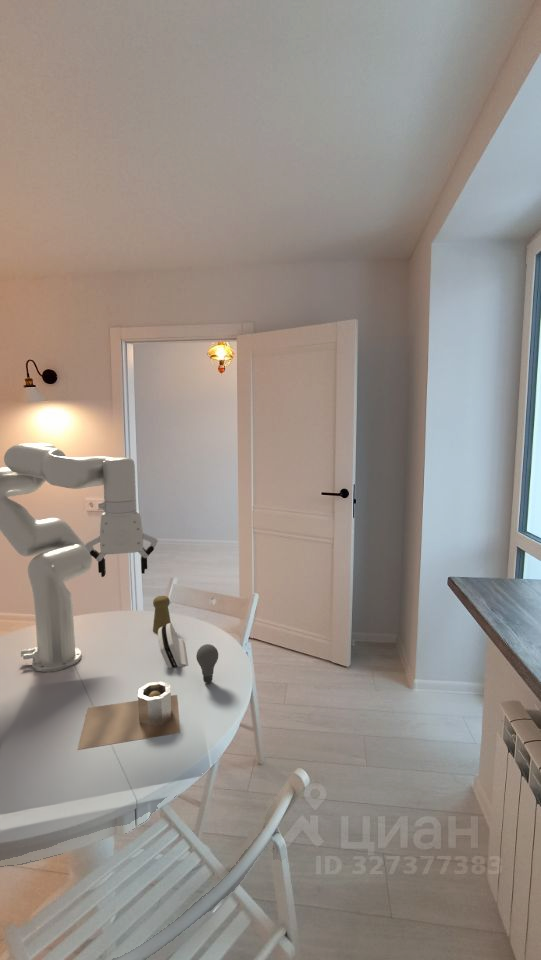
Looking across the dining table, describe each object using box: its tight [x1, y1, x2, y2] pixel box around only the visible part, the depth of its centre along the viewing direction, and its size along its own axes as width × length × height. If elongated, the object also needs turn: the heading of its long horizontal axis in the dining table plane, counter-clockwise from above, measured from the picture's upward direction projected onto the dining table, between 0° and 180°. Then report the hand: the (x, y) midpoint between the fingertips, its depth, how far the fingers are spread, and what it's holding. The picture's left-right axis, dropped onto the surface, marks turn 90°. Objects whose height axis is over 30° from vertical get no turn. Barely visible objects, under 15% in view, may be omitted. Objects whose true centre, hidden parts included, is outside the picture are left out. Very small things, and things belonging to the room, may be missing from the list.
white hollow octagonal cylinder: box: [137, 681, 172, 727], centre depth 99 cm, size 7×7×6 cm
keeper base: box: [77, 691, 181, 751], centre depth 98 cm, size 20×14×7 cm
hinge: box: [157, 622, 189, 669], centre depth 128 cm, size 17×5×10 cm, turn 15°
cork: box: [152, 595, 172, 635], centre depth 146 cm, size 6×6×11 cm
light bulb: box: [196, 643, 219, 684], centre depth 115 cm, size 6×6×10 cm
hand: (123, 573), depth 114 cm, fingers open, 9 cm apart
